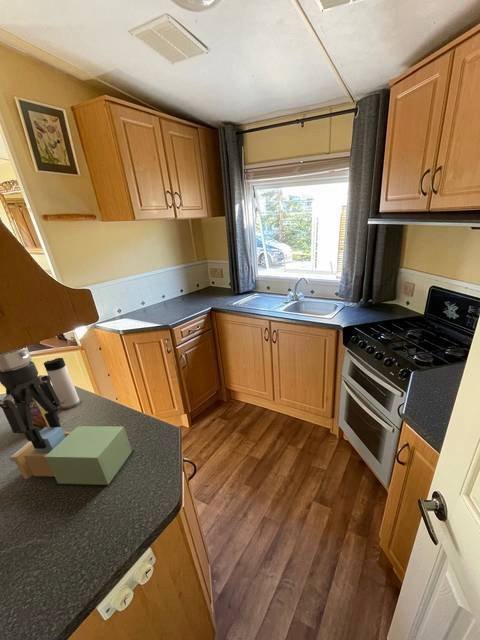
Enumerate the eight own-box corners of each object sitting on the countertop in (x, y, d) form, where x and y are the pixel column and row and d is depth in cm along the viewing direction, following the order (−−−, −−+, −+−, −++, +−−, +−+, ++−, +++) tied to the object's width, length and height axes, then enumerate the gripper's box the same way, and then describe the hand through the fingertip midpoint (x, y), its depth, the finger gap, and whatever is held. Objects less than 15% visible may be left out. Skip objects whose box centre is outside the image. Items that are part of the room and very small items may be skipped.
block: (38, 453, 80) (30, 438, 78) (51, 440, 85) (45, 427, 82) (54, 453, 80) (47, 438, 77) (67, 440, 84) (61, 427, 82)
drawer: (10, 478, 81) (-3, 456, 77) (42, 449, 91) (32, 429, 88) (69, 479, 79) (59, 457, 76) (95, 450, 89) (87, 429, 86)
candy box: (31, 424, 105) (13, 388, 98) (43, 417, 109) (26, 382, 102) (47, 429, 102) (30, 392, 95) (59, 422, 106) (43, 385, 99)
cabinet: (57, 483, 79) (44, 456, 75) (87, 450, 91) (77, 426, 86) (108, 484, 78) (97, 457, 74) (132, 451, 89) (123, 426, 85)
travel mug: (64, 411, 112) (45, 364, 103) (60, 405, 116) (40, 360, 108) (82, 403, 116) (64, 358, 107) (77, 398, 120) (60, 354, 112)
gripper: (-8, 384, 62) (34, 465, 72) (56, 350, 79) (84, 419, 89) (-39, 384, 63) (7, 464, 73) (31, 350, 80) (61, 419, 90)
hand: (49, 439), depth 81 cm, fingers open, 6 cm apart
